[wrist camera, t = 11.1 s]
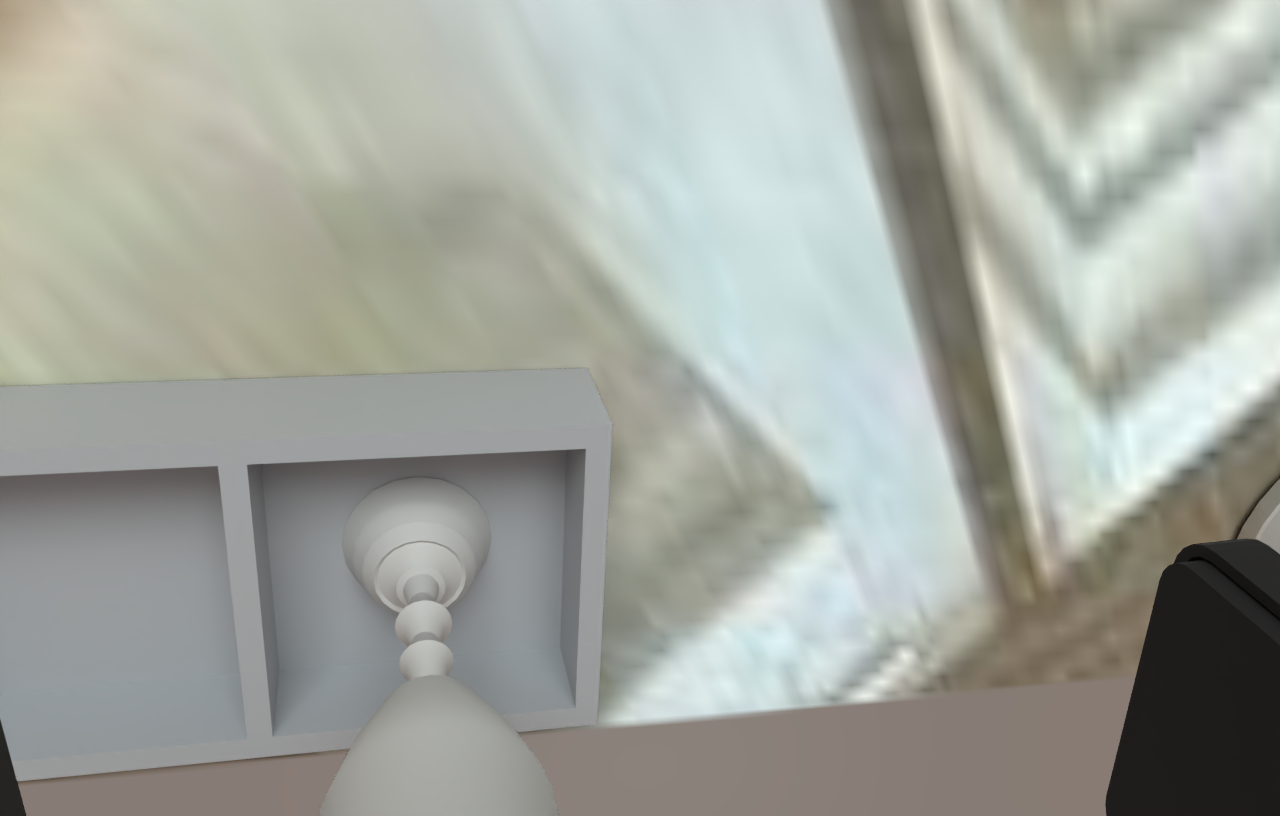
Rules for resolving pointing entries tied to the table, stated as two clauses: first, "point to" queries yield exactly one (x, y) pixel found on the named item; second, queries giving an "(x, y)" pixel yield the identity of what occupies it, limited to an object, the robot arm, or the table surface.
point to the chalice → (429, 670)
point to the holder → (281, 559)
